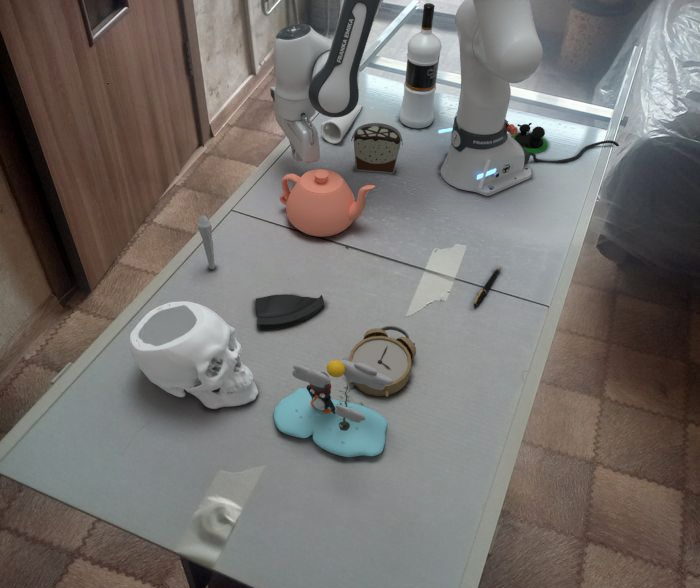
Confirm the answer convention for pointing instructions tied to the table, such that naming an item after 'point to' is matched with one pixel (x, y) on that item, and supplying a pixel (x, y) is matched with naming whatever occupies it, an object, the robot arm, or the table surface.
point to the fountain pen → (486, 288)
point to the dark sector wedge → (286, 310)
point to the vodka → (421, 74)
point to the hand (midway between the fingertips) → (297, 158)
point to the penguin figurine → (334, 411)
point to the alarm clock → (385, 358)
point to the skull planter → (192, 354)
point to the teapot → (321, 202)
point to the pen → (207, 239)
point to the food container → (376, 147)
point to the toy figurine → (531, 138)
